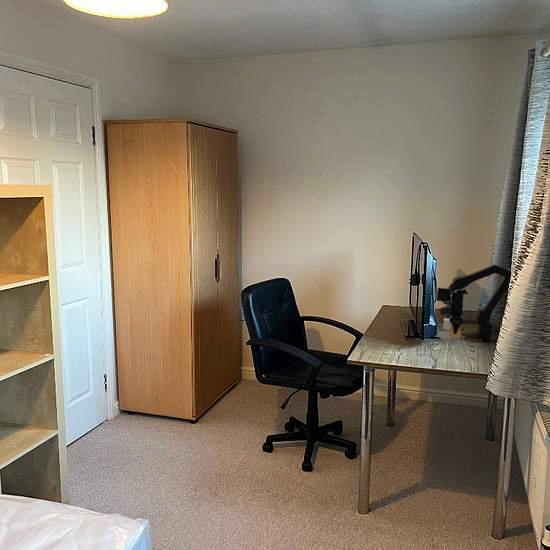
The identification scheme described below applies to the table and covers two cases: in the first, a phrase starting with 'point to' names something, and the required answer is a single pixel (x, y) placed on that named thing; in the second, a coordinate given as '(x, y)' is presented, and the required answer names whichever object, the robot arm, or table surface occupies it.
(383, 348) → the table surface
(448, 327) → the matte ivory cube
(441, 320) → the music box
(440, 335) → the plate
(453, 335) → the matte amber box
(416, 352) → the table surface
